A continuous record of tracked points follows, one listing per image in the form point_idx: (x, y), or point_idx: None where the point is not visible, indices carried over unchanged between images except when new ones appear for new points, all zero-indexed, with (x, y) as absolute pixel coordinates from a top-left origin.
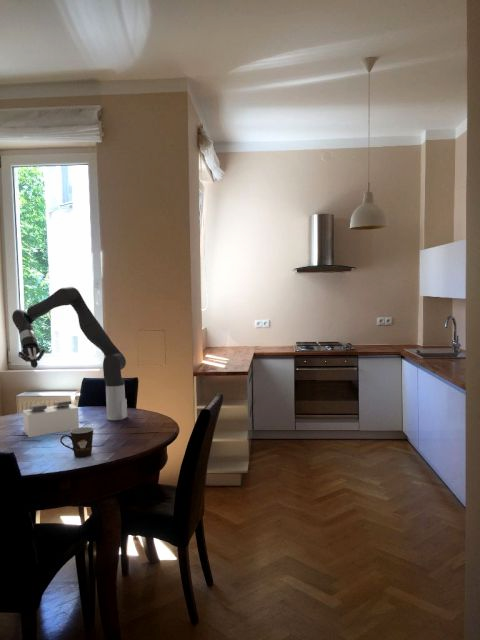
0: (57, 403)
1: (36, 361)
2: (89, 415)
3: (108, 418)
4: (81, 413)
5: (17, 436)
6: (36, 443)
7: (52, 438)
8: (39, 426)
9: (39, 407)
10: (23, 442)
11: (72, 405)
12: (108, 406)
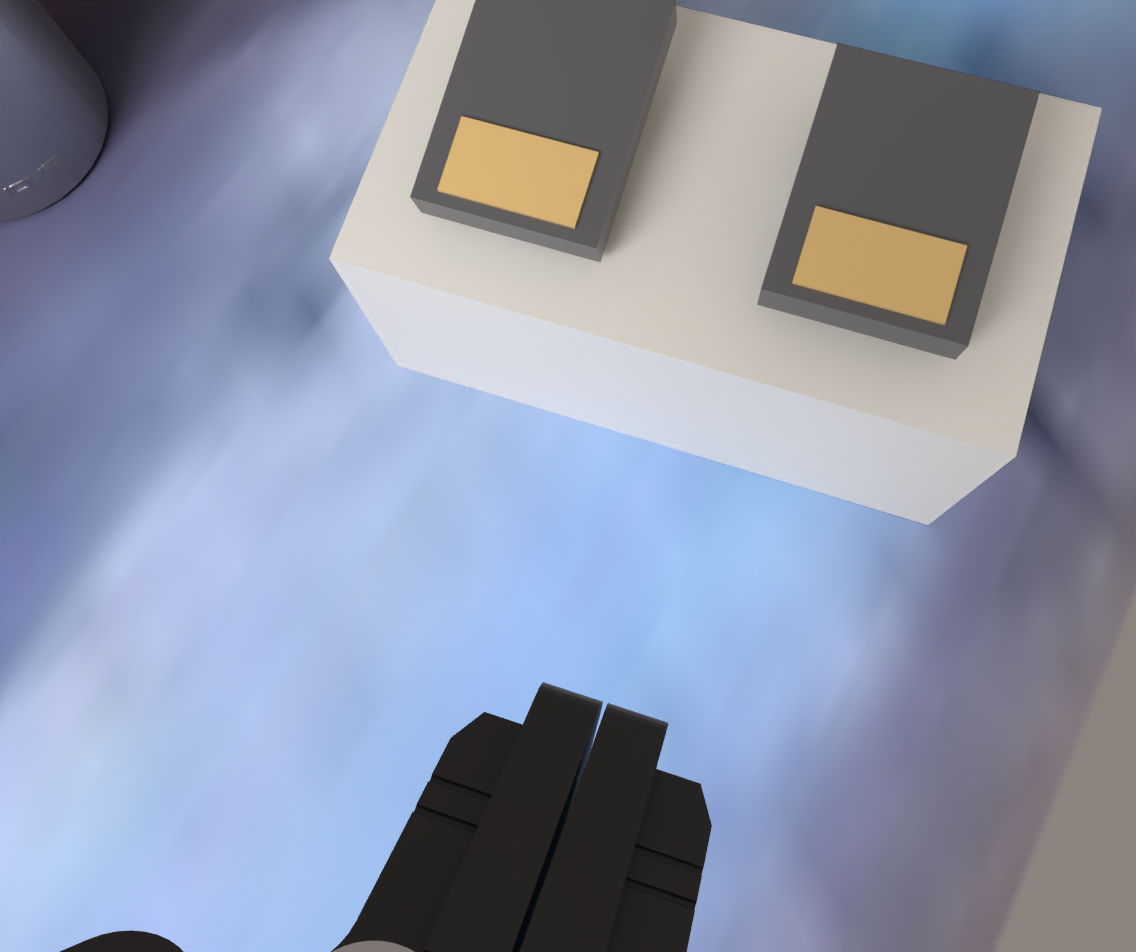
0: (667, 30)
1: (422, 861)
2: (43, 510)
3: (98, 124)
4: (10, 700)
5: (1069, 392)
6: (1044, 7)
7: (859, 29)
8: None
9: (938, 76)
10: (1119, 135)
11: (409, 121)
12: (21, 23)
